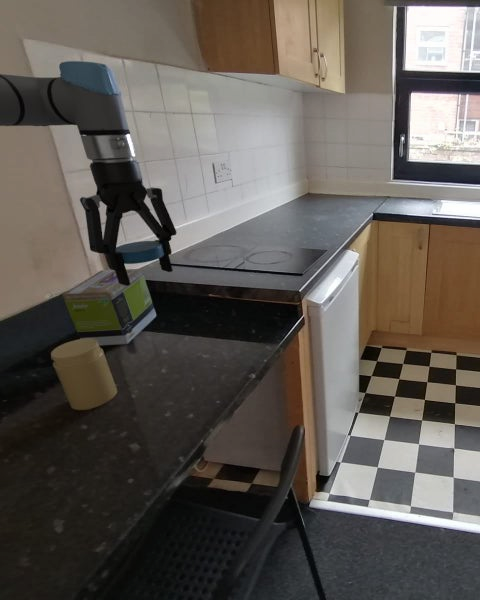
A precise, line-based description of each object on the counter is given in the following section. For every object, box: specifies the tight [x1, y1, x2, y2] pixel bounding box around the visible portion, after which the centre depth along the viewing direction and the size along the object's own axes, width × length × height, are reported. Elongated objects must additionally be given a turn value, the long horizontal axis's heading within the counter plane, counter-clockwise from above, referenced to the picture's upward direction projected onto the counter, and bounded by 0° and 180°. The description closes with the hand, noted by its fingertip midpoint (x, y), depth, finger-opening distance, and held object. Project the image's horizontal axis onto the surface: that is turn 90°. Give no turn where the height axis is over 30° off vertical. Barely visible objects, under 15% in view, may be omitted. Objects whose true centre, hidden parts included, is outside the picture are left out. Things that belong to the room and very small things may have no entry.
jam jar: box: [50, 338, 118, 411], centre depth 74 cm, size 7×7×11 cm
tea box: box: [62, 268, 157, 346], centre depth 96 cm, size 15×10×15 cm, turn 5°
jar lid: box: [116, 240, 164, 265], centre depth 80 cm, size 8×8×2 cm
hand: (146, 276), depth 82 cm, fingers closed on jar lid, 8 cm apart
